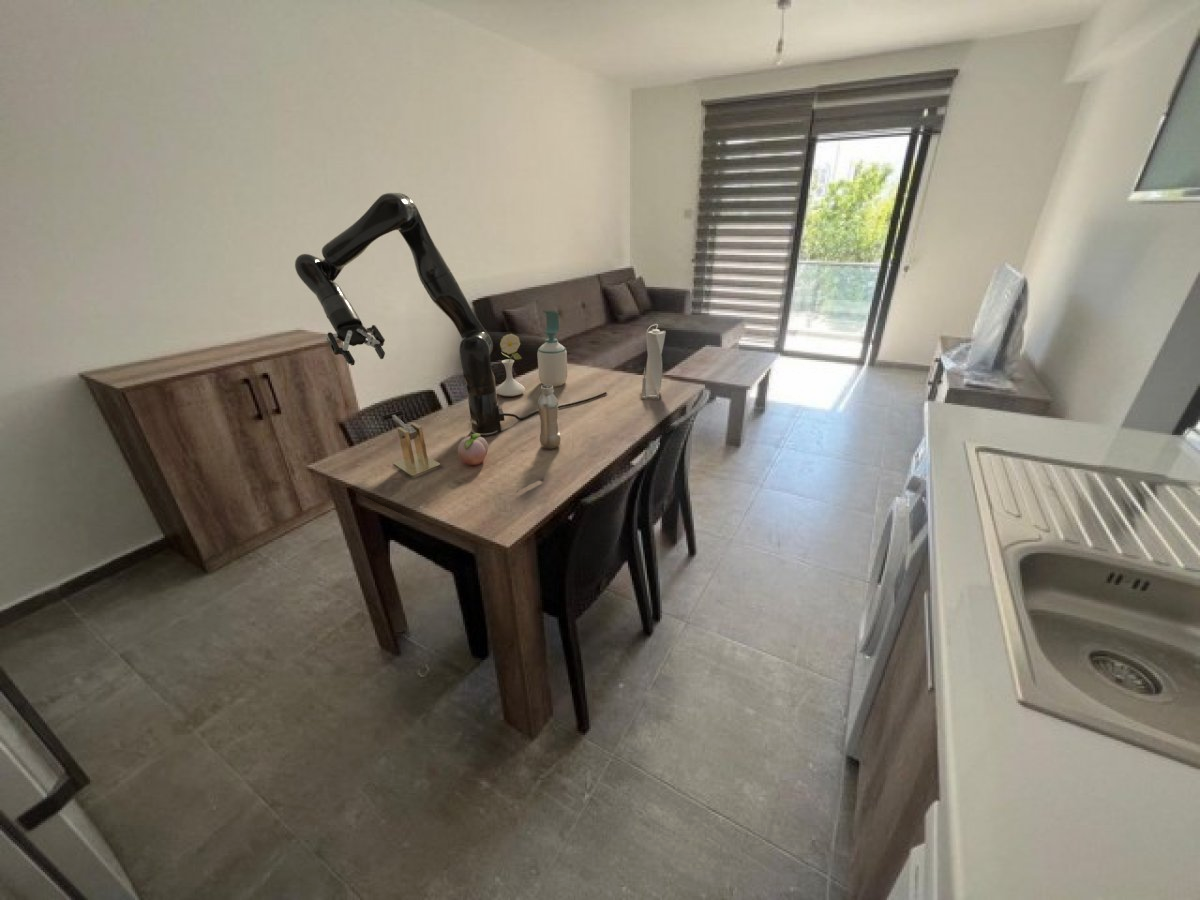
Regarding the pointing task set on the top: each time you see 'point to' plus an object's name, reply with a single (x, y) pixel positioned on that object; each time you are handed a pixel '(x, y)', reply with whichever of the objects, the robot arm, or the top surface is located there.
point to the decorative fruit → (473, 449)
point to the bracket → (410, 462)
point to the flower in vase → (510, 366)
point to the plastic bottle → (548, 418)
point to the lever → (400, 423)
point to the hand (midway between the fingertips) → (368, 360)
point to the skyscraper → (653, 364)
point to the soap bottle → (552, 354)
